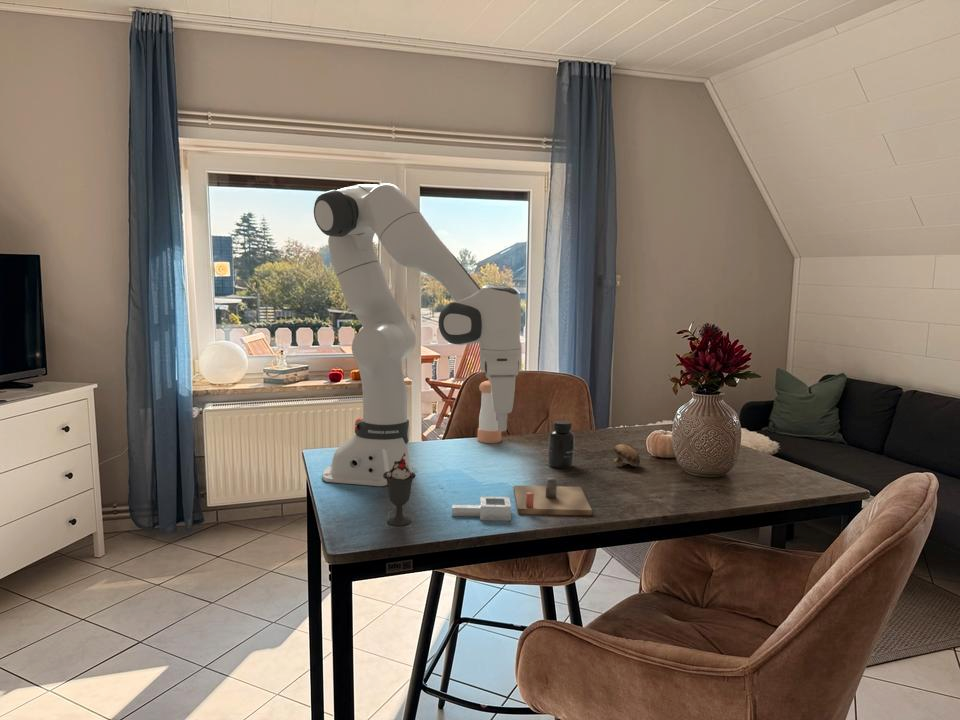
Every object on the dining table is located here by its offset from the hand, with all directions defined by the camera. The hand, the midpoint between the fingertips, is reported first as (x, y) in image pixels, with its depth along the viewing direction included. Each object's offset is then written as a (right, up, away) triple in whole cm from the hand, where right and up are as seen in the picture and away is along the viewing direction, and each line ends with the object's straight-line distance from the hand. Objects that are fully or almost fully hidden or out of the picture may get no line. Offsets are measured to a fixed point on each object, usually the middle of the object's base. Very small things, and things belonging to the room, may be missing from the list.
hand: (501, 425), depth 150 cm
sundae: (-21, -20, -5) cm, 29 cm away
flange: (-4, -19, 0) cm, 20 cm away
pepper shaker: (-2, -11, +65) cm, 66 cm away
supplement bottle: (+17, -15, +39) cm, 45 cm away
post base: (+12, -18, +9) cm, 24 cm away
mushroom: (+35, -15, +40) cm, 56 cm away
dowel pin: (+6, -18, +2) cm, 19 cm away
